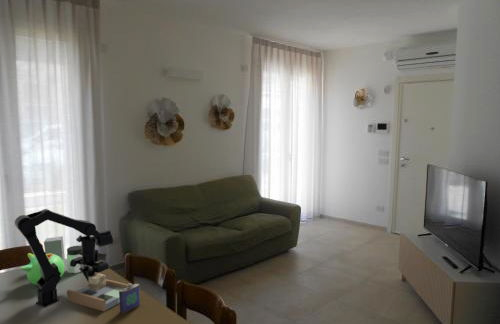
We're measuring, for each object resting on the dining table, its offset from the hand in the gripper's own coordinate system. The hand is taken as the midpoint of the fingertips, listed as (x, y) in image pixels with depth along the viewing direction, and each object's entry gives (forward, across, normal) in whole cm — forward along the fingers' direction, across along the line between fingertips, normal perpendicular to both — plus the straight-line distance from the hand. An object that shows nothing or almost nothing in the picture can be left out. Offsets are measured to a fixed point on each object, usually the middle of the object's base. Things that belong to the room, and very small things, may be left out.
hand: (90, 282), depth 169 cm
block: (+1, -5, 0) cm, 5 cm away
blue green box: (+4, -29, +5) cm, 30 cm away
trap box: (+4, -10, +4) cm, 12 cm away
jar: (+4, +26, -14) cm, 30 cm away
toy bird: (+4, +26, +4) cm, 26 cm away
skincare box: (+4, +40, -12) cm, 42 cm away
